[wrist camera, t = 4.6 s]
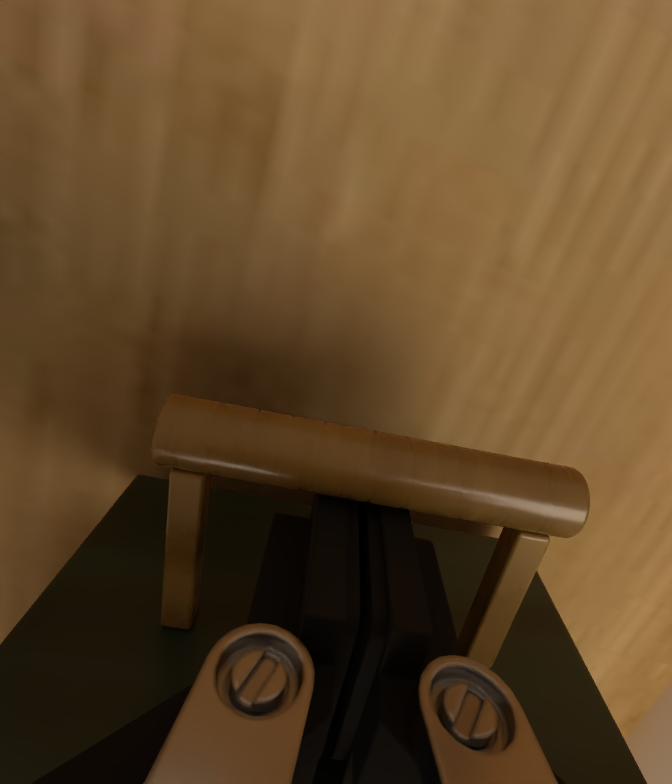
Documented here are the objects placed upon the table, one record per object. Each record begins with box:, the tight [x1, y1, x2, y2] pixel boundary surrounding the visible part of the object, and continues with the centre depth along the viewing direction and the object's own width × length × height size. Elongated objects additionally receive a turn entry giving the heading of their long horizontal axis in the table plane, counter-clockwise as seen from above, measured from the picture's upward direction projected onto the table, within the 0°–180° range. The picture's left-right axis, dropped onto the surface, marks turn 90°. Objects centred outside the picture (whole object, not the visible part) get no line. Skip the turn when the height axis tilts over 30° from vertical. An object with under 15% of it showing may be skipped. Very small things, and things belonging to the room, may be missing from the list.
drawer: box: [0, 394, 647, 784], centre depth 11 cm, size 19×12×8 cm, turn 169°
